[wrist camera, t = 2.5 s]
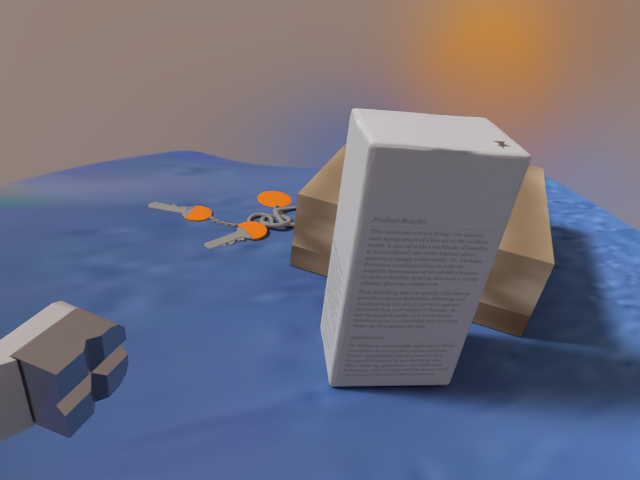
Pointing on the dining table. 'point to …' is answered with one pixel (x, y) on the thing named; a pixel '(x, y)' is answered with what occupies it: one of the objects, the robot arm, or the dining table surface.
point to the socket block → (508, 267)
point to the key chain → (244, 229)
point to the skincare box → (414, 243)
